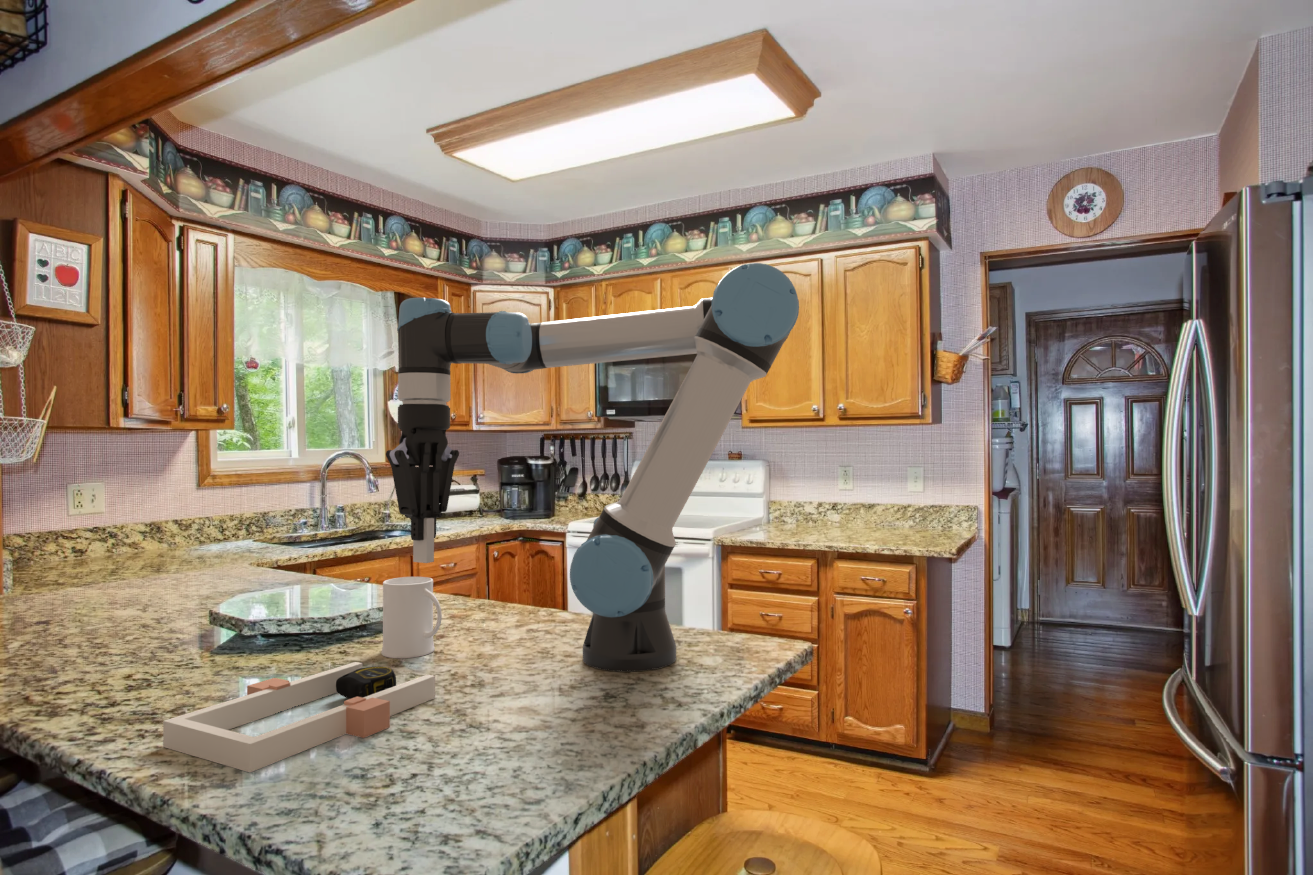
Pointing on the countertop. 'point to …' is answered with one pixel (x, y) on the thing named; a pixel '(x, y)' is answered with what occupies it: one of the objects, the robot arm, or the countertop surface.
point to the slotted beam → (356, 717)
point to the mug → (409, 617)
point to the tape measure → (365, 681)
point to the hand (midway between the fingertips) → (423, 561)
